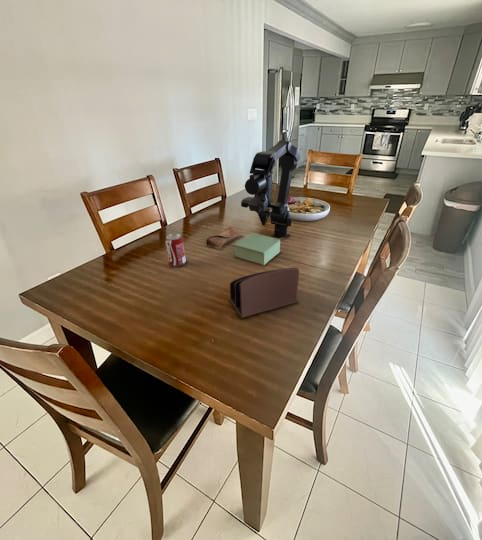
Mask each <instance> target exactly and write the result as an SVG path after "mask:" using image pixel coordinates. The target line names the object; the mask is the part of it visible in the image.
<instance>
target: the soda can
mask: <svg viewBox="0 0 482 540" xmlns="http://www.w3.org/2000/svg"><path fill="white" fill-rule="evenodd" d="M165 247H166V255H167V260H168V264H169V265H170V266H172V267H181V266H183V265H185V264H186V262H187V257H186V252H185V244H184V239H183V238H182V236H181V234H180V233H171V234H168V235H166V240H165Z"/></svg>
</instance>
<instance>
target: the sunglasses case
mask: <svg viewBox="0 0 482 540" xmlns="http://www.w3.org/2000/svg"><path fill="white" fill-rule="evenodd" d="M240 237H243V234H240V233H239V232H238V231H236V229H234V228H233V227H232V226H228V228H225V229H223V230H221V231H220V232H217V233H216V234H214V235H212V236H209V237H208V238H207V239H206V241H205V244H206V245H207V247H209V248H212V249H214V248H220V249H222V248H223V247H225V246H226V245H228V244H230V243H231V242H232V241H235V240H237V239H239V238H240Z"/></svg>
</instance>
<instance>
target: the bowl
mask: <svg viewBox="0 0 482 540" xmlns="http://www.w3.org/2000/svg"><path fill="white" fill-rule="evenodd" d="M287 205H288V208H289V210H290V212H289V215H290V217H291V219H292V221H296V222H297V221H299V222H313V221H318V220H321V219H323V218H325V217H327V216H328V214H329V213H330V210H331V205H330V204H329V203H328V202H326V201H323V200H321V199H318V198H312V197H304V196H303V197H299V196H298V197H294V196H292V195H289V196H288V202H287Z"/></svg>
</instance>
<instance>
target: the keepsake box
mask: <svg viewBox="0 0 482 540" xmlns="http://www.w3.org/2000/svg"><path fill="white" fill-rule="evenodd" d="M234 252H235V257H237V258H240V259H242V260H246V261H250V262H253V263H257V264H260V265H262V266H265V265H266V264H267V263H268V262H270V261H271V260H272V259H273V258H274V257H275V256H277V255H278V254H279V253H280V252H281V241H280V242H278V243H277V244H276V245H275V246H273V247H272V248H271V249H269V250H268V251H267V252H266V253H264V254H261V253H258V252H254V251H251V250H247V249H244V248H240V247H237V246H234Z"/></svg>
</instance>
